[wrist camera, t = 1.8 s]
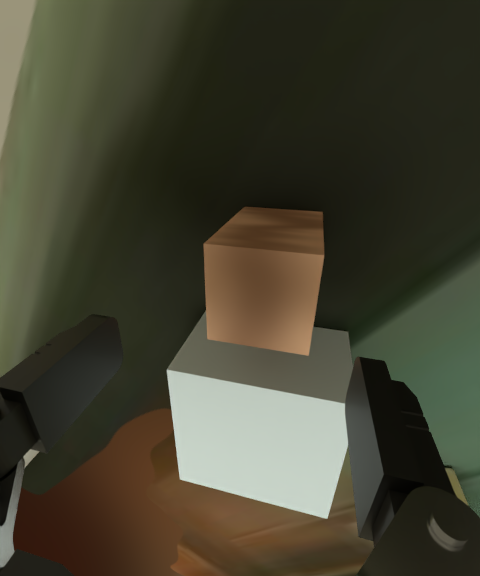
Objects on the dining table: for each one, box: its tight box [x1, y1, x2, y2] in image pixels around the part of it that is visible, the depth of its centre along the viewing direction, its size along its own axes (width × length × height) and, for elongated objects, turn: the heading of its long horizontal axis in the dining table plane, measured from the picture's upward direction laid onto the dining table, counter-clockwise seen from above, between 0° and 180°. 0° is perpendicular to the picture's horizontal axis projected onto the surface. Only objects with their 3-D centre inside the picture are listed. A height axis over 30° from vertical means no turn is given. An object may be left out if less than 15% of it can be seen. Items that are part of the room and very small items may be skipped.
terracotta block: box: [204, 207, 324, 356], centre depth 17 cm, size 5×5×8 cm
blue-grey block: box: [167, 311, 353, 519], centre depth 22 cm, size 11×11×7 cm
